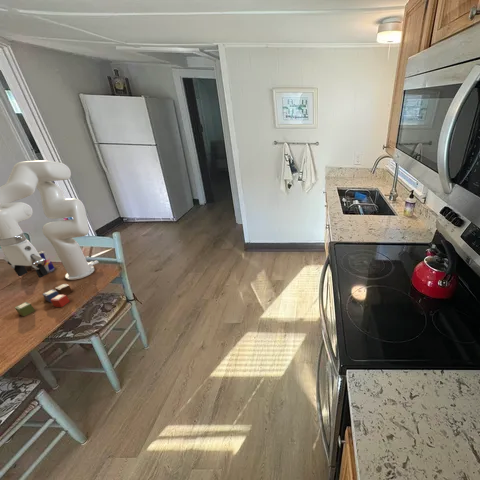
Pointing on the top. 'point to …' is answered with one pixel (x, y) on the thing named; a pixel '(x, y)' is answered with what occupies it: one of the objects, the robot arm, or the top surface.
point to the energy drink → (46, 261)
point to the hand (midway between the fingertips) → (33, 275)
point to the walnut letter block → (63, 289)
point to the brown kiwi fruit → (29, 267)
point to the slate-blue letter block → (50, 295)
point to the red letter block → (60, 300)
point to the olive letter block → (24, 309)
